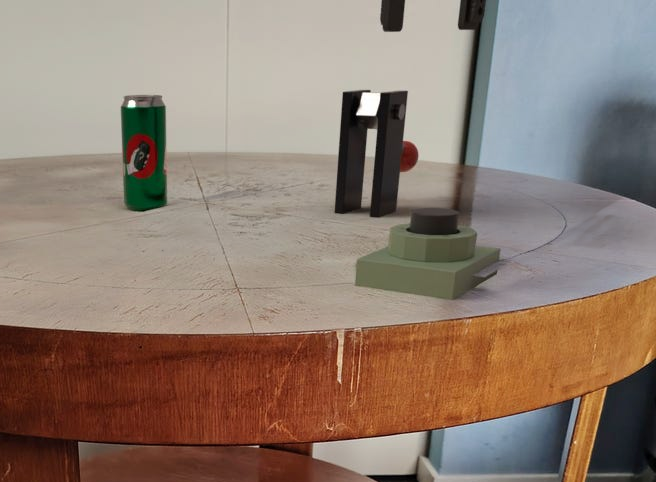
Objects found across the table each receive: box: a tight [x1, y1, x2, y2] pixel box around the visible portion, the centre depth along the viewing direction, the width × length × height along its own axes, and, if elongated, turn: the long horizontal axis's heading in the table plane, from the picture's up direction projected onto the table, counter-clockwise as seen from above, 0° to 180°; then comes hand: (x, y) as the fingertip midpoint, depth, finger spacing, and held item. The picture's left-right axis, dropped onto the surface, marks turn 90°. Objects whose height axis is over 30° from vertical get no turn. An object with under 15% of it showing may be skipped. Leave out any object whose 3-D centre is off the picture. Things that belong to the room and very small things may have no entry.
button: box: [409, 207, 460, 235], centre depth 70 cm, size 4×4×2 cm
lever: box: [356, 91, 420, 173], centre depth 94 cm, size 13×3×3 cm
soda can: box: [120, 94, 168, 212], centre depth 103 cm, size 5×5×12 cm
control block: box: [354, 222, 501, 301], centre depth 72 cm, size 8×10×4 cm
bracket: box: [334, 89, 409, 219], centre depth 92 cm, size 9×11×13 cm
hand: (428, 30), depth 84 cm, fingers open, 8 cm apart
